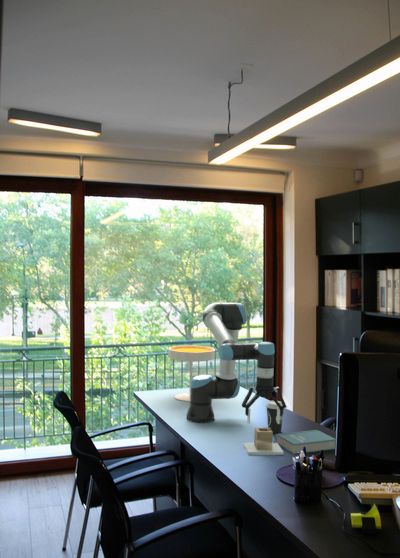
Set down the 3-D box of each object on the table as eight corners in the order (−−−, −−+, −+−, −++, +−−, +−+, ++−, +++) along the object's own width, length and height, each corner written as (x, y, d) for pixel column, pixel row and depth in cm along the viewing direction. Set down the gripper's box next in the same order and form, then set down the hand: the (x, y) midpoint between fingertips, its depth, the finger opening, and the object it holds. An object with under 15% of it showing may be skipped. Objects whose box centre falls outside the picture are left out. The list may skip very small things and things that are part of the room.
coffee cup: (272, 435, 265) (273, 405, 265) (261, 430, 274) (262, 401, 273) (287, 433, 270) (288, 403, 269) (276, 428, 278) (277, 399, 278)
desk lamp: (186, 390, 359) (187, 344, 359) (223, 397, 342) (224, 348, 342) (157, 398, 335) (158, 348, 335) (195, 406, 318) (196, 354, 318)
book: (293, 455, 239) (293, 444, 239) (275, 443, 254) (275, 433, 254) (335, 449, 248) (336, 439, 248) (315, 439, 263) (316, 429, 263)
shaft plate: (247, 454, 237) (248, 440, 237) (243, 445, 250) (243, 431, 250) (283, 454, 238) (283, 441, 238) (277, 445, 251) (277, 432, 251)
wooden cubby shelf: (254, 444, 247) (254, 425, 247) (269, 444, 248) (269, 425, 248) (256, 449, 240) (257, 430, 240) (272, 449, 241) (272, 430, 241)
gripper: (238, 377, 239) (237, 425, 240) (294, 378, 240) (292, 425, 241) (236, 374, 246) (235, 419, 247) (290, 375, 248) (288, 420, 249)
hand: (263, 422), depth 244 cm, fingers open, 13 cm apart
